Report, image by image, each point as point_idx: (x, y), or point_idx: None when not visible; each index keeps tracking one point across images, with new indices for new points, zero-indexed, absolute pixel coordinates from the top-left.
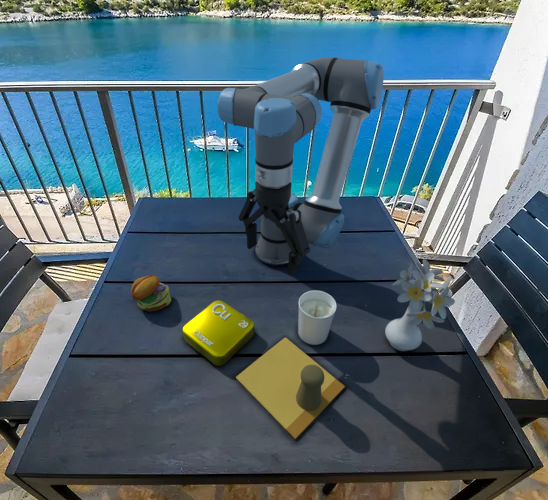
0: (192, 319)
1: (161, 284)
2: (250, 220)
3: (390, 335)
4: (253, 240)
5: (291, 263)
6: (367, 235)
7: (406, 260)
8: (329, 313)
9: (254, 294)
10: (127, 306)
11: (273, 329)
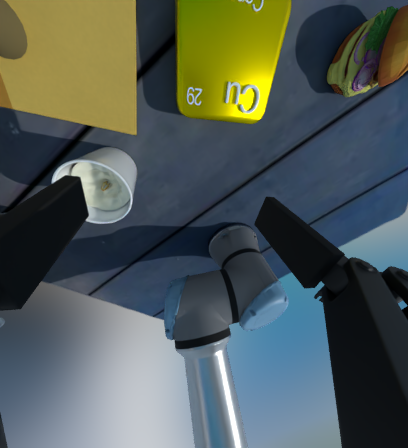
0: (281, 38)
1: (363, 86)
2: (381, 310)
3: None
4: (271, 226)
5: (20, 208)
6: None
7: (119, 301)
8: (91, 199)
9: (220, 177)
10: None
11: (161, 138)
